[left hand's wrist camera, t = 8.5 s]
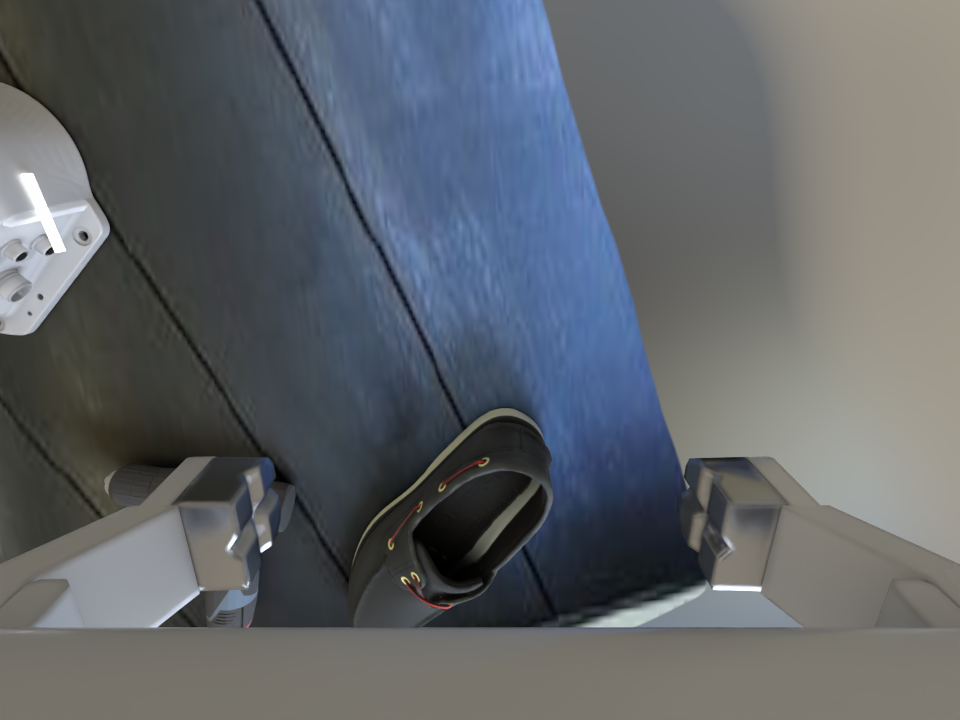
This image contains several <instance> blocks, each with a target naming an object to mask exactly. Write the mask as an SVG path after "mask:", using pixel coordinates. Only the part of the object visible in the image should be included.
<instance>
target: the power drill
mask: <svg viewBox="0 0 960 720" xmlns="http://www.w3.org/2000/svg"><path fill="white" fill-rule="evenodd" d="M175 469H176V468H160V467H154V466H146V465H137V464H128V465H126V466H124V467H122V468H120V469H118V470H116V471H114V472H112V473H111V474H110V475H109V476H107V477H106V478H105V480H104V482H105V490H106V492H107V493H108V495H109V496H110V497H111V499H112V500H113V501H114V502H115V503H116V504H120V505H125V506H136V505H141V504H142V503H143V502H144V501H145V500H146V499H147V498H148V497H149V495H150V494H151V493H152V492H153V491H154V490H155V489H156V488H157V487H158V486H159V485H160V484H161V483H162V482H163V481H164V480H165V479H166V478H167V477H168V476H169V475H170V474H171V473H172V472H173V471H174V470H175ZM270 488H271V489H272V490H273V491H274V492H275V493H276V494H277V495H278V496H279V498H280V504H281V521H280V525H279V530H278V532H283V531H284V530H285V529H286V527H287V525H288V523H289V521H290V518H291V515H292V511H293V507H294V501H295V486H294V485H293V484H289V483H283V482H276V481H273V483H272V484H271V486H270ZM258 583H259V570H258V572H257V574H256V575H255V577H254V579H253V581H252V583H251V585H250V586H249V588H248V590H215V591H205V605H206V617H207V627H208V628H248V627H249V625H250V623H251V621H252V618H253V614H254V610H255V606H256V601H257V594H258Z"/></svg>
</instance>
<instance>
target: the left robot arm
mask: <svg viewBox="0 0 960 720" xmlns="http://www.w3.org/2000/svg"><path fill="white" fill-rule="evenodd" d="M84 232H86V233H87V234H88V239H87V238H86V237H85V235H84ZM109 232H110V226H109V223H108V220H107V218H106V216H105V215H104V213H103V211H102V210H101V208H100V206H99V205H98V203H97V202H96V200H95V199H94V197H93V195H92V192H91V189H90V185H89V181H88V177H87V173H86V169H85V166H84V163H83V160H82V158H81V156H80V153H79V151H78V149H77V147H76V145H75V143H74V142H73V140H72V138H71V137H70V135H69V134H68V132H67V131H66V130H65V128H64V127H63V126H62V125H61V123H60V122H59V121H58V120H57V119H56V118H55V117H54V116H53V115H52V114H51V113H50V112H49V111H48V110H47V109H46V108H45V107H44V106H43V105H41V104H40V103H39V102H38V101H36V100H35V99H33V98H32V97H30V96H29V95H27V94H26V93H24V92H22V91H20V90H18V89H16V88H14V87H12V86H10V85H7V84H4V83H1V82H0V322H1V323H0V333H3V334H9V335H26V334H30V333H33V332H34V331H35V330H36V329H37V328H38V327H39V326H40V324H41V323H42V322H43V320H44V319H45V318H46V317H47V315H48V314H49V313H50V311H51V310H52V309H53V307H54V306H55V305H56V303H57V302H58V301H59V300H60V298H61V297H62V296H63V294H64V293H65V292H66V290H67V289H68V288H69V286H70V285H71V284H72V282H73V281H74V280H75V279H76V277H77V276H78V275H79V273H80V272H81V271H82V269H83V268H84V267H85V265H86V264H87V263H88V262H89V260H90V259H91V258H92V256H93V255H94V254H95V252H96V251H97V250H98V248H99V247H100V246H101V245H102V243H103V242H104V241H105V239H106V238H107V237H108V235H109ZM275 478H276V474H275V469H274V465H273V462H272V461H271V460H270V459H269V458H262V457H216V456H203V457H190V458H186V459H185V460H184V461H183V462H182V463H181V464H180V465H179V466H178V467H177V468H176V469H175V470H174V471H173V472H172V473H171V474H170V475H169V476H168V477H167V478H166V479H165V480H164V481H163V482H162V483H161V484H160V485H159V486H158V487H157V488H156V489H155V490H154V491H153V492H152V493H151V494H150V495H149V497H148V498H147V499H146V500H145V501H144V502H143V503H142V504H141V505H136V506H129V507H127V508H124V509H122V510H120V511H118V512H115V513H113V514H111V515H109V516H106V517H104V518H102V519H100V520H98V521H95V522H93V523H91V524H89V525H86V526H84V527H82V528H80V529H78V530H75V531H73V532H71V533H69V534H66V535H64V536H62V537H60V538H57V539H55V540H53V541H51V542H49V543H46V544H44V545H42V546H40V547H37V548H35V549H33V550H31V551H28V552H26V553H24V554H22V555H20V556H17V557H15V558H13V559H11V560H8V561H6V562H4V563H2V564H0V720H960V564H958V563H956V562H953V561H951V560H949V559H947V558H945V557H942V556H940V555H938V554H936V553H933V552H931V551H929V550H927V549H925V548H922V547H920V546H918V545H916V544H913V543H911V542H909V541H907V540H905V539H902V538H900V537H898V536H896V535H893V534H891V533H889V532H887V531H885V530H882V529H880V528H878V527H876V526H873V525H871V524H869V523H867V522H865V521H862V520H860V519H858V518H856V517H853V516H851V515H849V514H847V513H845V512H842V511H840V510H838V509H836V508H833V507H831V506H825V505H819V504H818V502H816V500H814V498H813V497H812V496H811V495H810V494H809V493H808V492H807V491H806V490H805V489H804V488H803V487H802V486H801V485H800V484H799V483H798V482H797V481H796V480H795V479H794V478H793V477H792V476H791V475H790V474H789V473H788V472H787V471H786V470H785V469H784V468H783V467H782V466H781V465H780V464H779V463H778V462H777V461H776V460H775V459H773V458H771V457H768V456H756V457H726V458H691V459H689V461H688V463H687V465H686V468H685V474H684V478H685V480H686V481H687V483H688V484H689V486H690V488H689V489H688V490H687V491H686V492H685V493H684V494H683V495H682V496H681V498H680V506H679V519H680V527H681V530H682V533H683V536H684V538H685V540H686V542H687V544H688V545H689V546H690V547H692V548H693V549H695V550H696V551H698V552H699V556H698V562H697V563H698V564H699V566H700V568H701V570H702V572H703V573H704V575H705V577H706V579H707V581H708V583H709V584H710V586H711V588H712V590H745V591H761V592H760V593H761V594H762V595H763V596H764V597H766V598H767V599H768V600H770V601H771V602H772V603H773V604H775V605H776V606H777V607H779V608H780V609H781V610H782V611H784V612H785V613H786V614H787V615H789V616H790V617H791V618H792V619H794V620H795V621H796V622H797V623H799V624H800V625H801V626H802V627H803V628H802V627H799V628H796V627H795V628H794V627H792V628H789V627H786V628H785V627H782V628H781V627H777V628H203V627H158V626H159V625H160V624H162V623H163V622H164V621H165V620H167V619H168V618H169V617H170V616H172V615H173V614H174V613H175V612H177V611H178V610H179V609H181V608H182V607H183V606H184V605H186V604H187V603H188V602H189V601H191V600H192V599H193V598H194V597H196V596H197V595H198V594H199V593H200V592H199V591H215V590H248V588H249V586H250V585H251V583H252V581H253V579H254V577H255V575H256V574H257V572H258V570H259V568H260V566H261V564H262V563H263V562H262V556H261V552H262V551H264V550H265V549H267V548H268V547H270V546H271V545H272V544H273V542H274V540H275V538H276V536H277V534H278V530H279V525H280V521H281V504H280V498H279V496H278V495H277V494H276V493H275V492H274V491H273V490H272V489H271V488H270V486H271V484H272V483H273V481H274V480H275Z"/></svg>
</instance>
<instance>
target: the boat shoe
mask: <svg viewBox="0 0 960 720" xmlns="http://www.w3.org/2000/svg"><path fill="white" fill-rule="evenodd" d="M551 462H552V457H551V455H550V452H549V450H548V448H547V446H546V445H545V442H544V438H543V435H542V432H541V430H540V428H539V427H538V426H537V424H536V423H535V422H534V421H533V420H532V419H531V418H529V417H528V416H527V415H525V414H523V413H521V412H519V411H517V410H515V409H510V408H500V409H495V410H492V411H489V412H487V413H485V414H484V415H482V416H481V417H479V418H478V419H477V420H475V421H474V422H473V423H472V424H471V425H470V426H469V427H467V428H466V429H465V430H464V431H463V432H462V433H461V434H460V435H459V436H458V437H457V438H456V439H455V440H454V441H453V442H452V443H451V444H450V445H449V446H448V447H447V448H446V449H445V450H444V451H443V452H442V453H441V454H440V455H439V456H438V457H437V458H436V459H435V460H434V462H433V463H432V464H431V465H430V466H429V468H428V469H427V470H426V472H425V473H424V474H423V475H422V476H421V477H420V478H419V479H418V480H417V481H416V482H415V484H414V485H412V486H411V487H410V488H409V489H408V490H407V491H406V492H404V493H403V494H402V495H401V496H399V497H398V498H397V499H395V500H394V501H393V502H392V503H390V504H389V505H388V506H387V507H385V508H384V509H383V510H382V511H381V512H380V513H379V514H378V515H377V516H376V517H375V518H374V519H373V520H372V522H371V523H370V524H369V526H368V527H367V529H366V530H365V532H364V534H363V536H362V538H361V540H360V542H359V544H358V547H357V550H356V552H355V556H354V559H353V564H352V569H351V574H350V579H349V587H348V618H349V622H350V626H351V628H421V627H422V626H423V625H425V624H426V623H427V622H429V621H431V620H432V619H433V618H435V617H436V616H438V615H439V614H441V613H442V612H444V611H445V610H446V609H448V608H450V607H452V606H455V605H456V604H459V603H462V602H465V601H468V600H471V599H473V598H475V597H477V596H479V595H480V594H482V593H483V592H484V591H485V590H486V589H487V588H488V586H489V585H490V584H491V582H492V581H493V579H494V577H495V575H496V573H497V571H498V570H499V569H500V568H501V567H502V566H503V565H505V564H506V563H507V562H508V561H509V560H510V559H511V558H512V557H513V556H514V555H515V554H516V553H517V552H518V551H519V550H520V549H521V547H522V546H523V545H524V544H525V543H526V542H527V541H529V540H530V539H531V537H532V536H533V535H534V534H535V533H536V532H537V531H538V530H539V528H540V527H541V526H542V524H543V523H544V521H545V519H546V517H547V515H548V513H549V510H550V508H551V505H552V503H553V500H554V499H553V490H552V485H551V480H550V474H549V468H550V466H551Z"/></svg>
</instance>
